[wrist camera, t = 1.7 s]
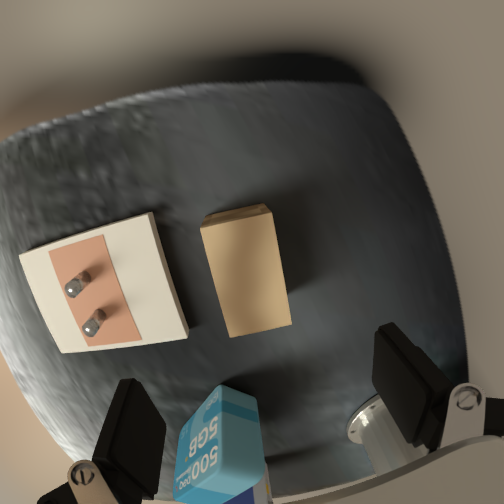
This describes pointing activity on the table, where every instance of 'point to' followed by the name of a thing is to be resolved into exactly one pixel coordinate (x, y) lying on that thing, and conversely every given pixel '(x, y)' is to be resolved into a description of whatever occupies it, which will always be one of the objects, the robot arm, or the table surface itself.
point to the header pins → (98, 315)
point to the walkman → (255, 493)
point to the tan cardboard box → (246, 269)
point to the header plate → (107, 287)
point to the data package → (219, 449)
